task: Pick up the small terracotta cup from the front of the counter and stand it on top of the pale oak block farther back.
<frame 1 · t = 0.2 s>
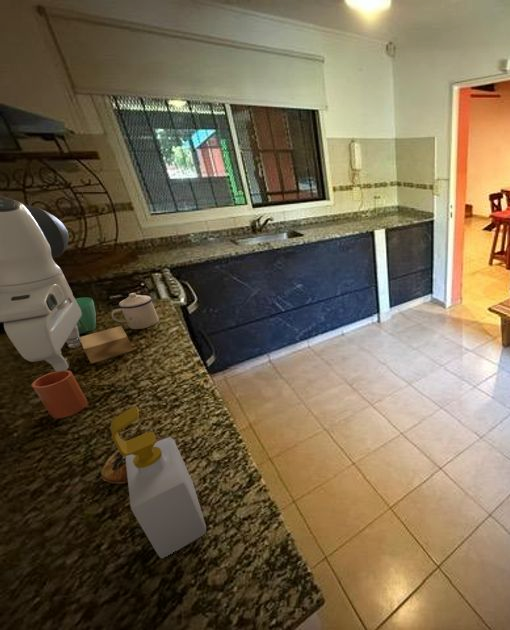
hand: (70, 356, 68), 20 cm above the countertop, tool pointing down, fingers open, 8 cm apart
bread roll: (139, 462, 69), on the countertop
teacup with lid: (139, 325, 121), on the countertop
block: (110, 350, 106), on the countertop
soap bottle: (179, 519, 58), on the countertop
mug: (86, 332, 116), on the countertop
cup: (69, 408, 83), on the countertop
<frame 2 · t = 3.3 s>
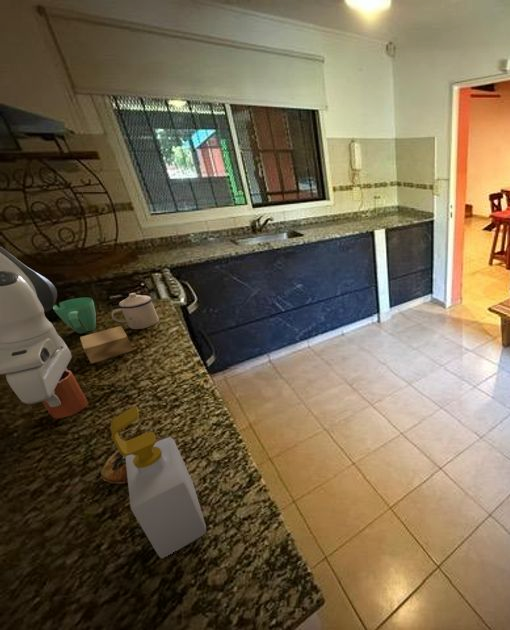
hand: (61, 394, 81), 4 cm above the countertop, tool pointing down, fingers closed on cup, 6 cm apart
cup: (70, 408, 83), on the countertop, touching gripper
everything else where it was.
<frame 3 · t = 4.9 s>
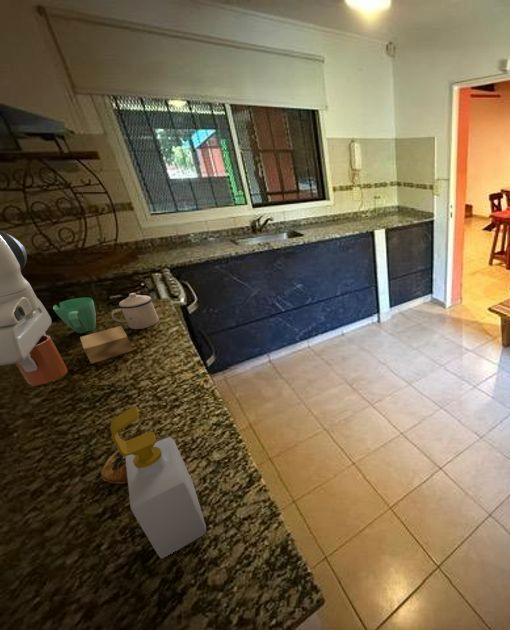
hand: (39, 360, 76), 14 cm above the countertop, tool pointing down, fingers closed on cup, 6 cm apart
cup: (48, 376, 78), point 10 cm above the countertop, touching gripper
everything else where it was.
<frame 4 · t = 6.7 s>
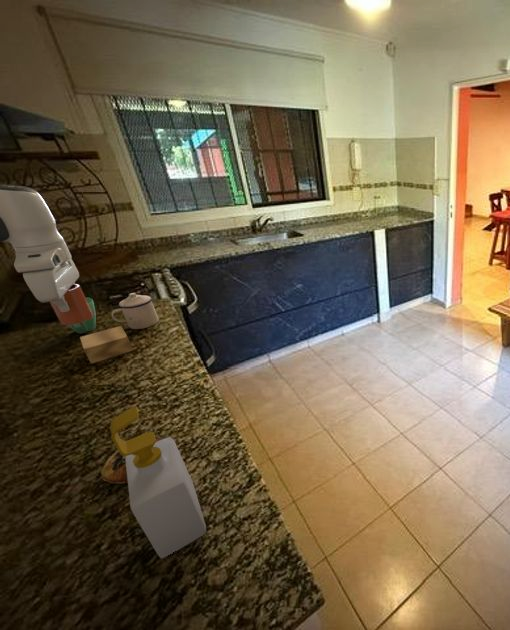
hand: (70, 305, 91), 19 cm above the countertop, tool pointing down, fingers closed on cup, 6 cm apart
cup: (77, 319, 92), point 15 cm above the countertop, touching gripper
everything else where it was.
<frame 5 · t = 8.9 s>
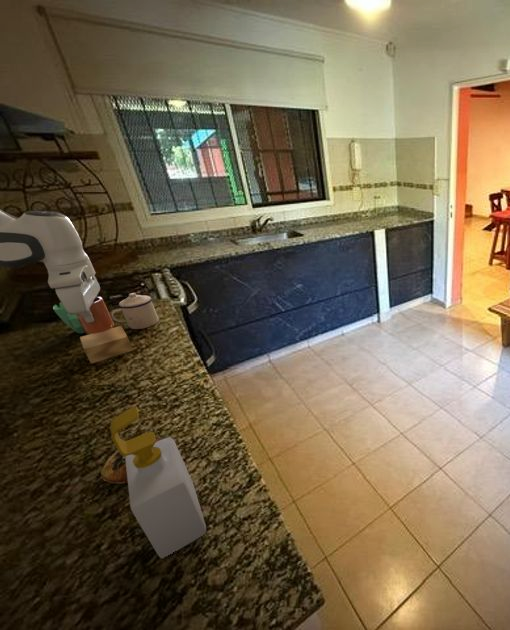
hand: (93, 315, 101), 12 cm above the countertop, tool pointing down, fingers closed on cup, 6 cm apart
cup: (100, 328, 102), point 8 cm above the countertop, touching gripper
everything else where it was.
when the fingers open (9 cm above the countertop, at t = 10.3 s): cup stays where it is, resting on block.
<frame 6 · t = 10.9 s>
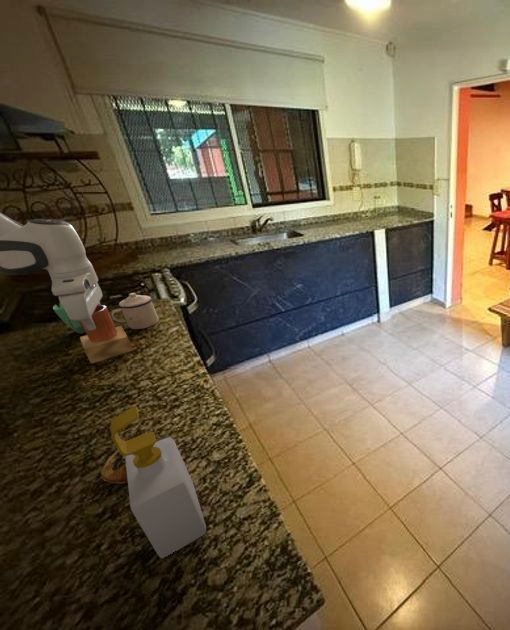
hand: (96, 322, 101), 10 cm above the countertop, tool pointing down, fingers open, 8 cm apart
block: (110, 350, 106), on the countertop, touching cup
cup: (103, 336, 104), point 5 cm above the countertop, touching block
everything else where it was.
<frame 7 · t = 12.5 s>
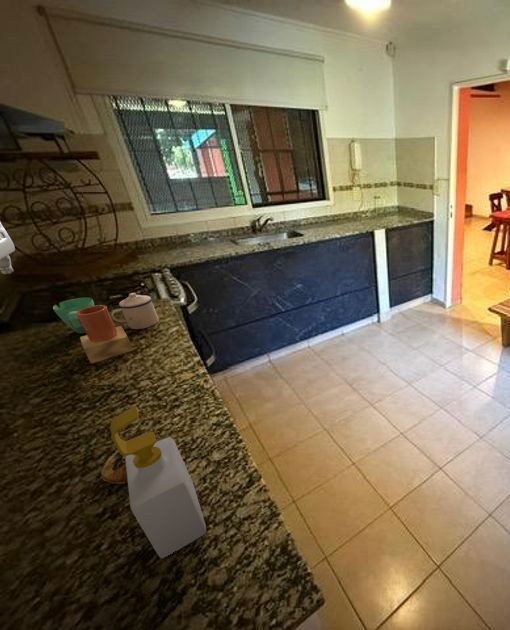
hand: (1, 278, 85), 27 cm above the countertop, tool pointing down, fingers open, 8 cm apart
nothing on the countertop moved.
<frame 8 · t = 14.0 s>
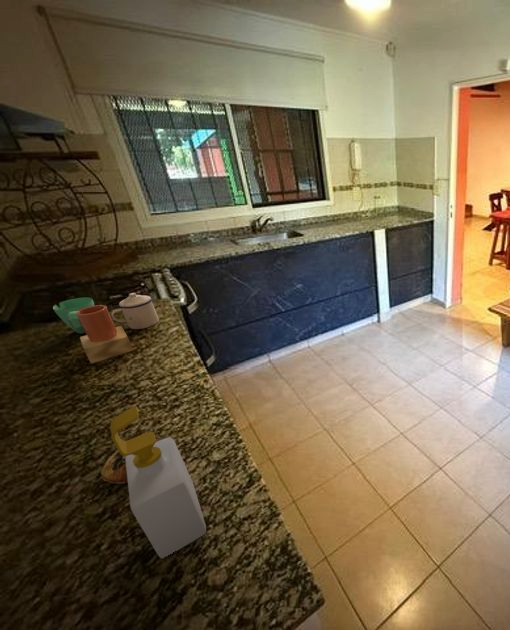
nothing on the countertop moved.
at the end: cup 0.1 cm off-centre on the block, point 5.0 cm above the block's base; cup tilted 0°; the gripper is holding nothing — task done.
